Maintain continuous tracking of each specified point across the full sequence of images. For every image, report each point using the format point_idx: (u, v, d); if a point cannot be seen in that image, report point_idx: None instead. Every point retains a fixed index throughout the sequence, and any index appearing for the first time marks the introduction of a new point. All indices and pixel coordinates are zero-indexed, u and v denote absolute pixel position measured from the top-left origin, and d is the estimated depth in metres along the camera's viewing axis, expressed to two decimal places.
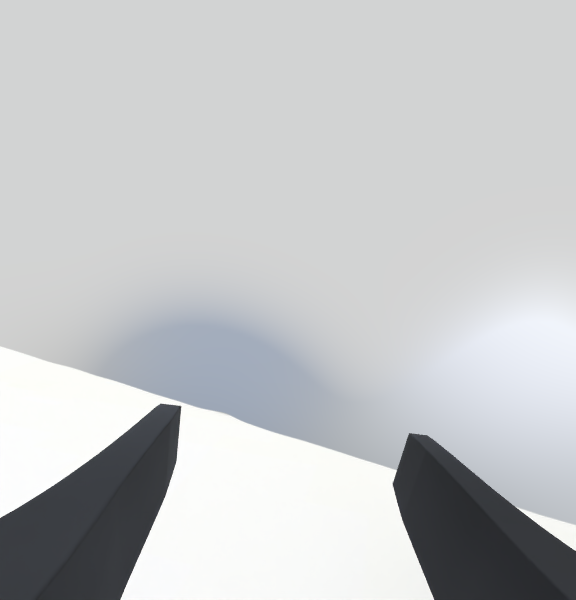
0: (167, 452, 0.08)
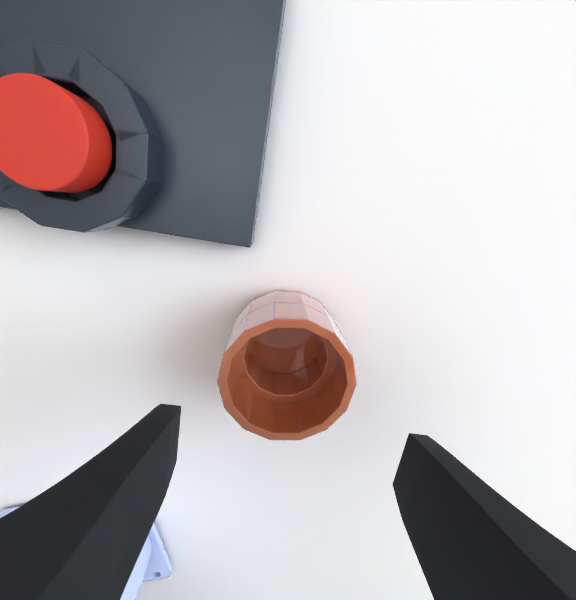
0: (167, 452, 0.08)
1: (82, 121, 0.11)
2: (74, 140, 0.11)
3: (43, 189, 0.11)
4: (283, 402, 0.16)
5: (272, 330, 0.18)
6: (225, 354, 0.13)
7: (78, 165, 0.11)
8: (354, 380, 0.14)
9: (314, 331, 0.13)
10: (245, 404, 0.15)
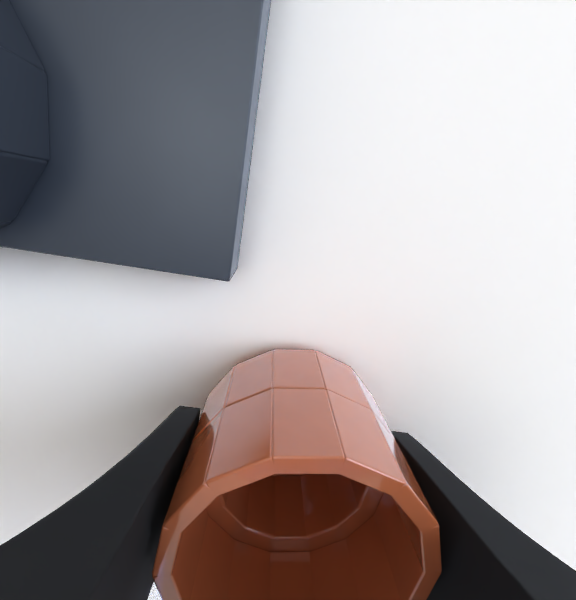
0: None
1: None
2: None
3: None
4: (289, 550, 0.09)
5: None
6: (165, 527, 0.06)
7: None
8: (438, 565, 0.07)
9: (360, 480, 0.06)
10: (216, 582, 0.08)
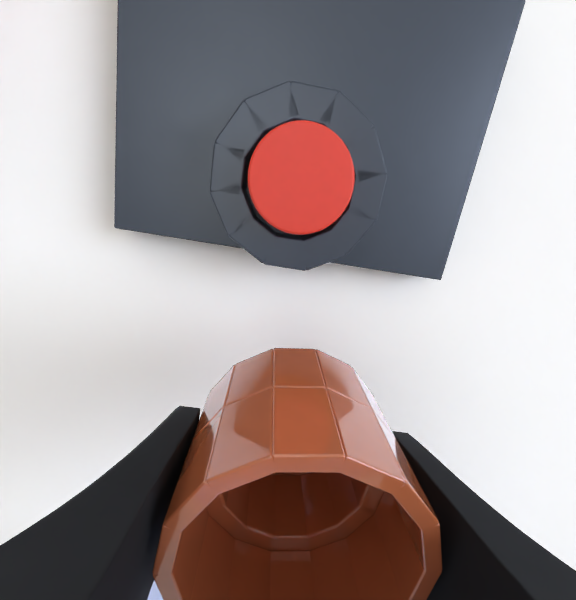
0: None
1: (353, 167, 0.11)
2: (340, 185, 0.11)
3: (299, 233, 0.11)
4: (289, 549, 0.09)
5: None
6: (165, 526, 0.06)
7: (339, 210, 0.11)
8: (439, 564, 0.07)
9: (361, 478, 0.06)
10: (217, 582, 0.08)
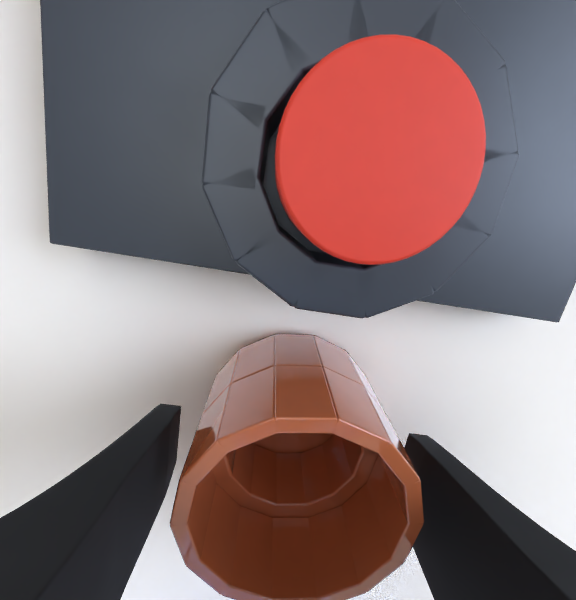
0: (167, 452, 0.08)
1: (485, 134, 0.05)
2: (457, 172, 0.05)
3: (370, 263, 0.06)
4: (289, 516, 0.10)
5: None
6: (182, 480, 0.07)
7: (450, 219, 0.06)
8: (421, 517, 0.07)
9: (351, 438, 0.07)
10: (225, 539, 0.09)
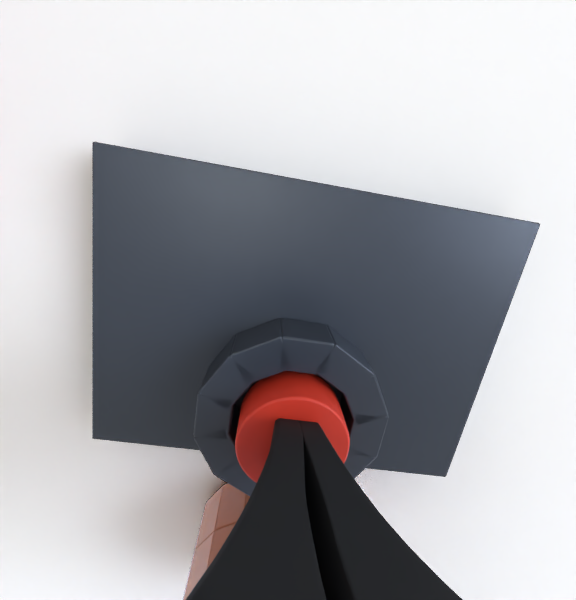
0: None
1: (348, 436, 0.10)
2: None
3: None
4: None
5: None
6: None
7: None
8: None
9: None
10: None
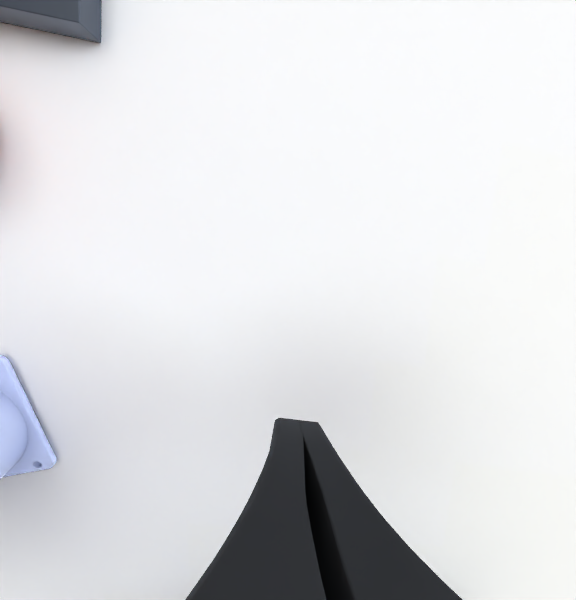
0: None
1: None
2: None
3: None
4: None
5: None
6: None
7: None
8: None
9: None
10: None
